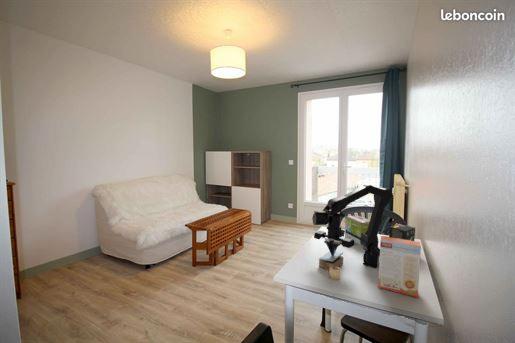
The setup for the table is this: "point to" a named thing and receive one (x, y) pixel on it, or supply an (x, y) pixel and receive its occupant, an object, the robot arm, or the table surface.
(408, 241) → the cracker box
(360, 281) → the table surface
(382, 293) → the table surface
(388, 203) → the robot arm
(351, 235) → the tea box
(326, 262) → the walnut box
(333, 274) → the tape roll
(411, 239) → the tampon box
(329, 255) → the lid
